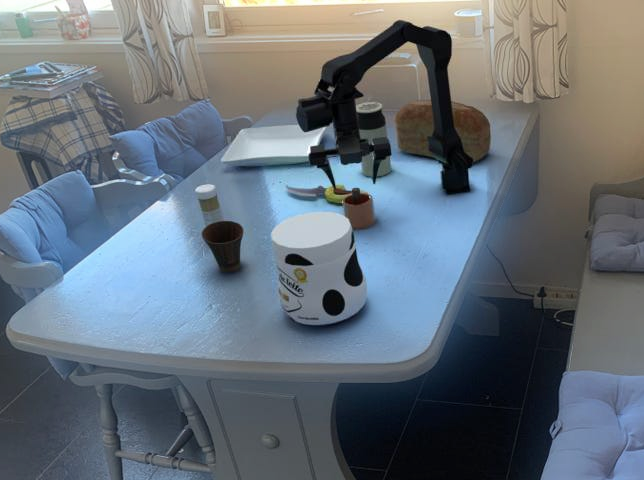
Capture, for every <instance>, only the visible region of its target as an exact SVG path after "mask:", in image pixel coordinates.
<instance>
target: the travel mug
mask: <svg viewBox="0 0 644 480" xmlns="http://www.w3.org/2000/svg"><path fill="white" fill-rule="evenodd" d="M383 107H384V105H383V104H382V103H380V102H376V101H367V102H362V103H359V104H357V105H356V111H357V118H358V125H359V132H360V138H361V139H366V138H368V142H369V144H372V138H379V137H387V138H388V131H387V124H386V123H387V122H386V117H385V115H384V113H383V111H382V110H383ZM360 165H361V172H362V174H363V175H364V176H366V177H371V178H372V152H370V155H366V156H363V157H362V162H361V163H360ZM391 171H392V164H391V156H387V157H386V160H382V162H381V163H380V166H379V169H378V173H377V178H379V177H383V176H386V175H388V174H389V173H390V172H391Z"/></svg>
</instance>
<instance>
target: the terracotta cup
mask: <svg viewBox="0 0 644 480" xmlns="http://www.w3.org/2000/svg"><path fill="white" fill-rule="evenodd" d="M373 199H374V198H373V196H372V195H371V194H370V193H368V194H366V193H361V200H362V204H359V205H354V203H353V197H352V194H351V195H348V196H346V197H345V198H343V200H342V203H341V204H342V208H343V216H344V217H346V218H347V219H349V222H350V224H351V227H352V230H362V229H366V228H369V227H371V226H373V225H375V223H376V214H375V208H374V207H375V206H374V200H373Z"/></svg>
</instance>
